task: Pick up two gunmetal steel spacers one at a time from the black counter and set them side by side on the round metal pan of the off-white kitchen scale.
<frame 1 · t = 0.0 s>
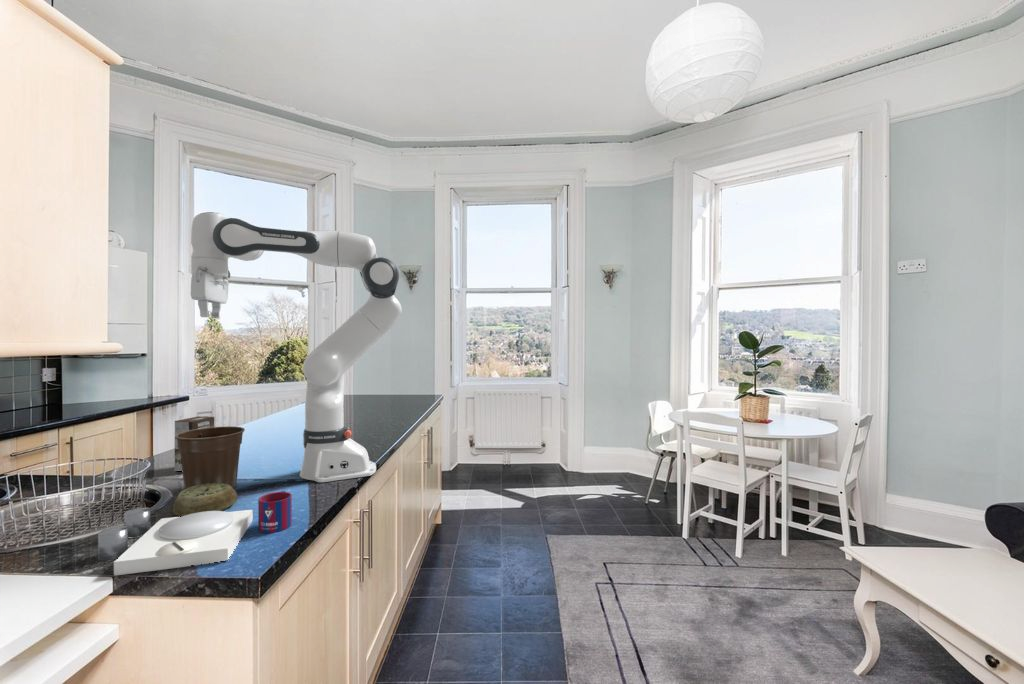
hand: (210, 317, 132), 48 cm above the countertop, tool pointing down, fingers open, 8 cm apart
spacer b: (113, 555, 90), on the countertop
mug: (278, 524, 105), on the countertop
spacer a: (137, 534, 99), on the countertop
olive green round disc: (205, 509, 114), on the countertop
plant pot: (211, 489, 128), on the countertop
coffee box: (195, 469, 146), on the countertop
scale: (192, 544, 95), on the countertop
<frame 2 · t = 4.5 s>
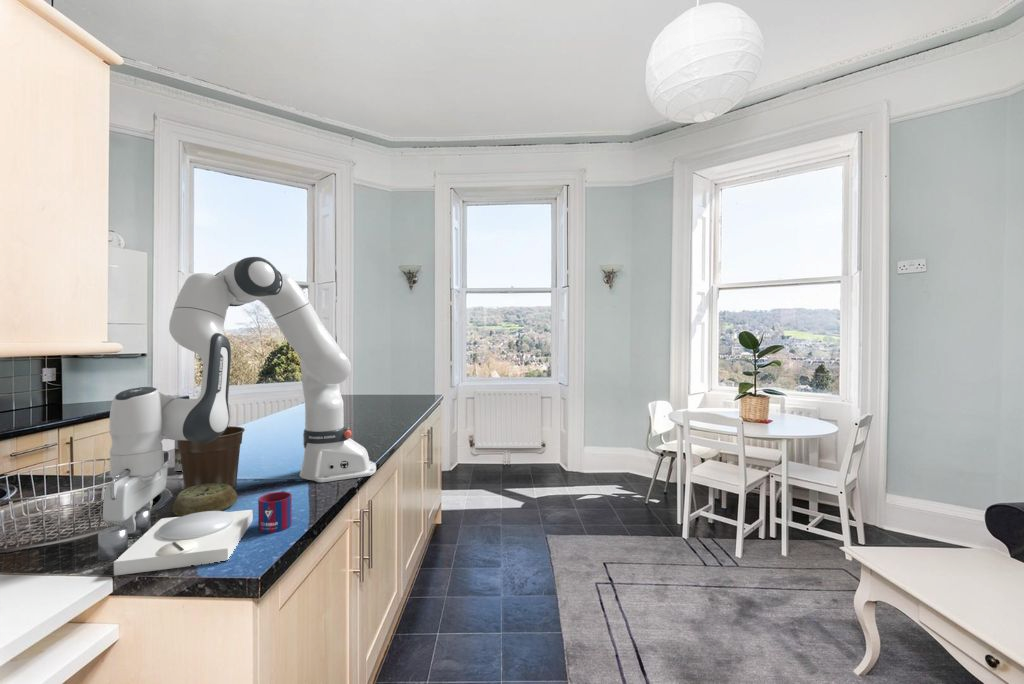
hand: (137, 526, 99), 2 cm above the countertop, tool pointing down, fingers closed on spacer a, 4 cm apart
spacer a: (137, 533, 99), on the countertop, touching gripper
everything else where it was.
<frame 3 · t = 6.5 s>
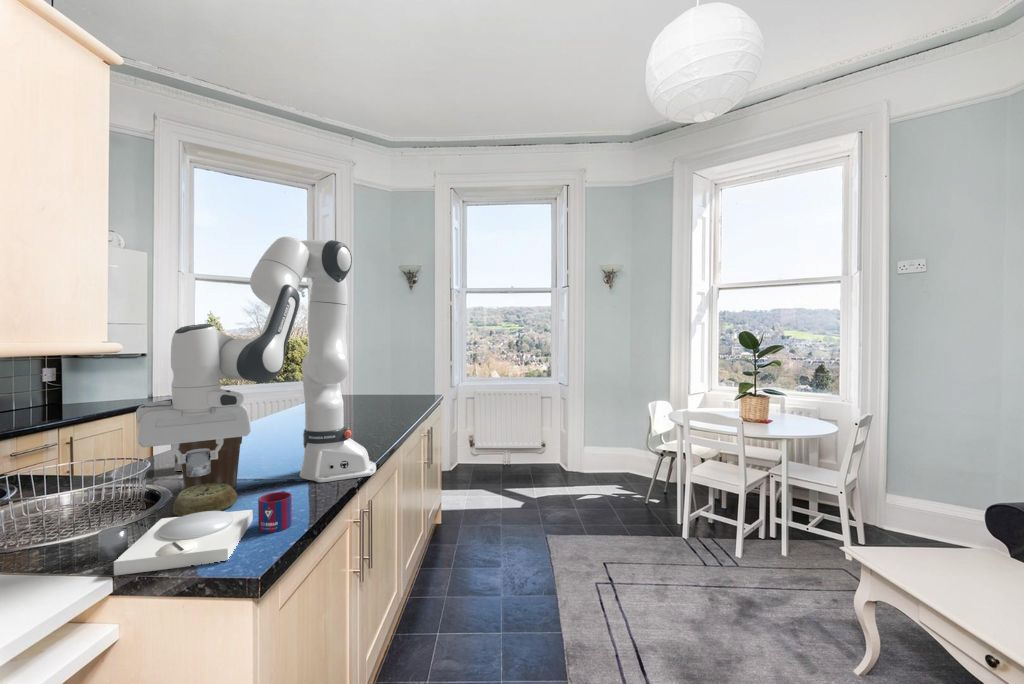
hand: (198, 461, 100), 16 cm above the countertop, tool pointing down, fingers closed on spacer a, 4 cm apart
spacer a: (198, 473, 100), point 13 cm above the countertop, touching gripper
everything else where it was.
when the fingers open (6 cm above the countertop, at t = 8.9 s): spacer a stays where it is, resting on scale.
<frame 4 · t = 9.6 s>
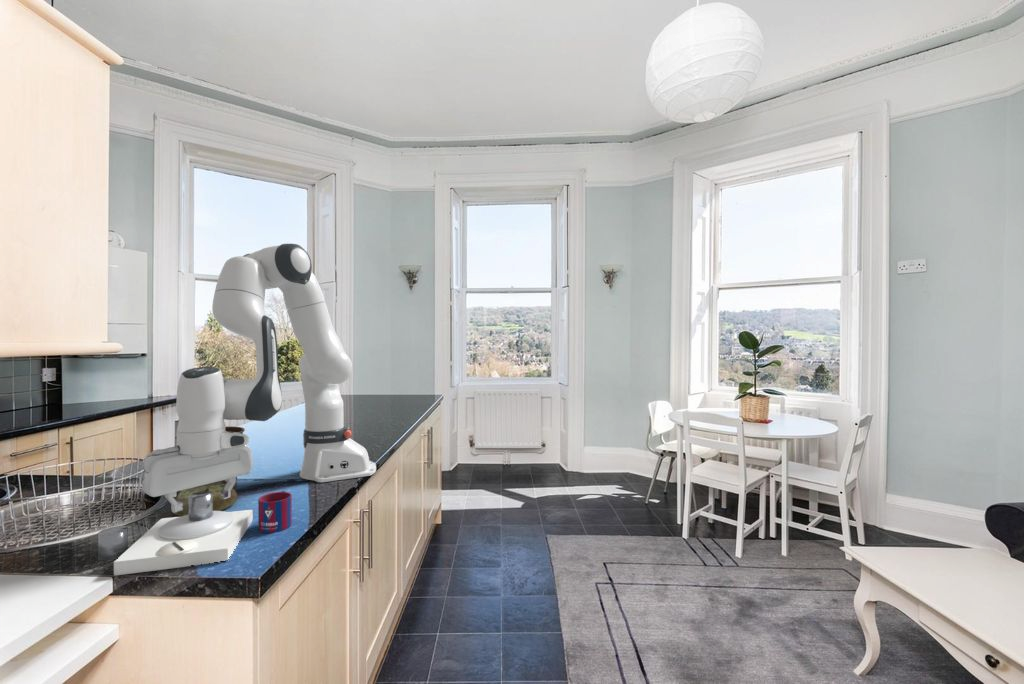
hand: (202, 504, 100), 6 cm above the countertop, tool pointing down, fingers open, 8 cm apart
spacer a: (200, 517, 100), point 3 cm above the countertop, touching scale
everything else where it was.
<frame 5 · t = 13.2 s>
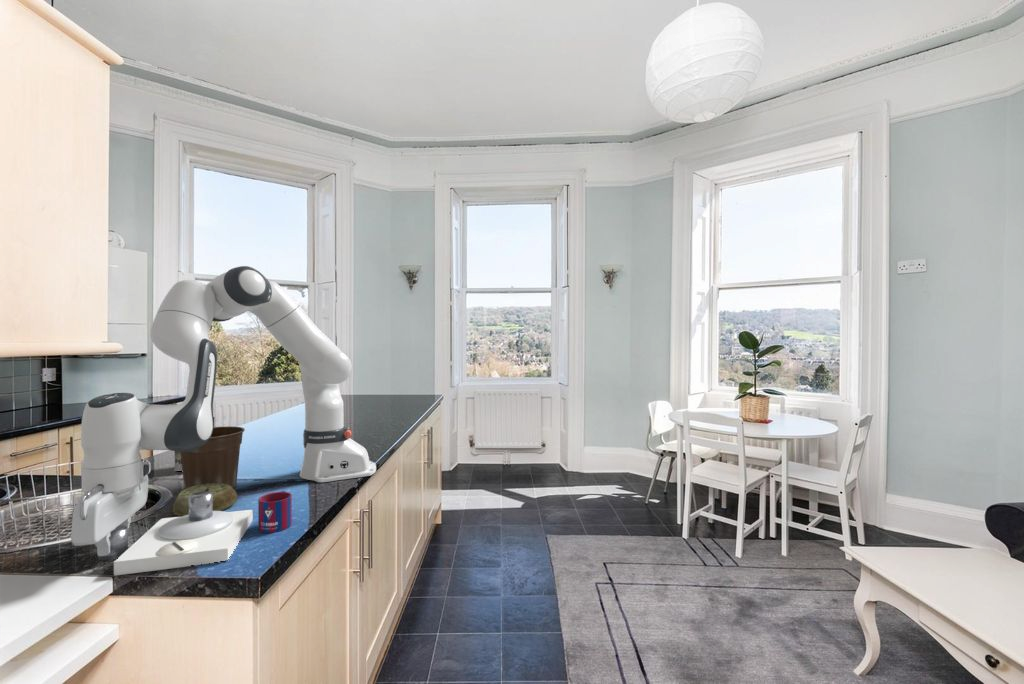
hand: (113, 547, 90), 2 cm above the countertop, tool pointing down, fingers closed on spacer b, 4 cm apart
spacer b: (113, 555, 90), on the countertop, touching gripper
everything else where it was.
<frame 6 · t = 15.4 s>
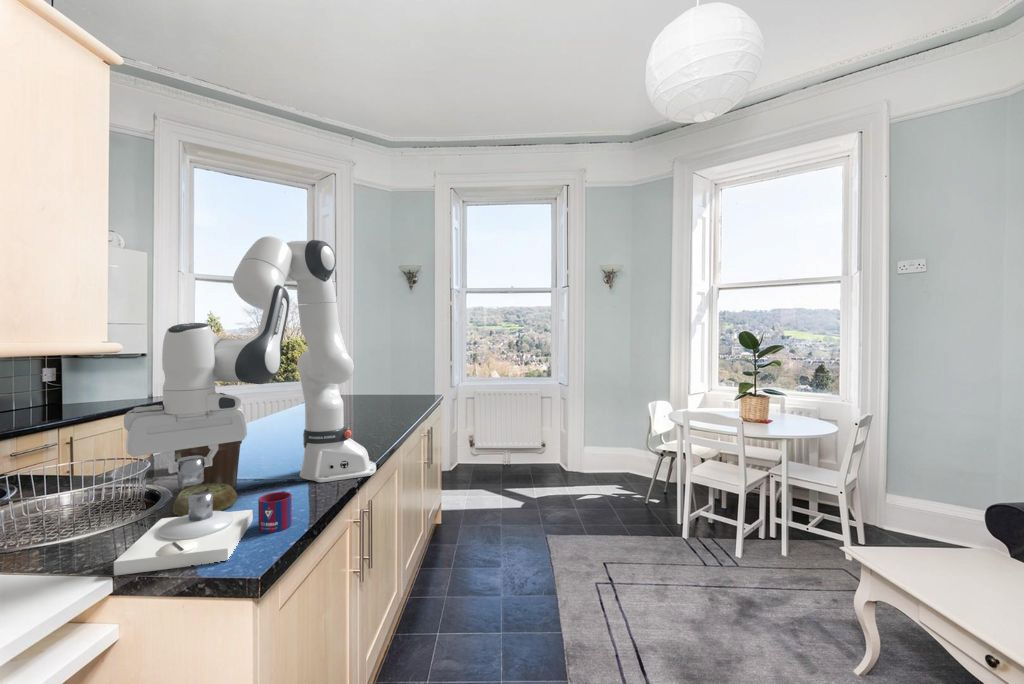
hand: (190, 469, 94), 16 cm above the countertop, tool pointing down, fingers closed on spacer b, 4 cm apart
spacer b: (191, 482, 94), point 13 cm above the countertop, touching gripper
everything else where it was.
when the fingers open (6 cm above the countertop, at t = 17.6 s): spacer b stays where it is, resting on scale.
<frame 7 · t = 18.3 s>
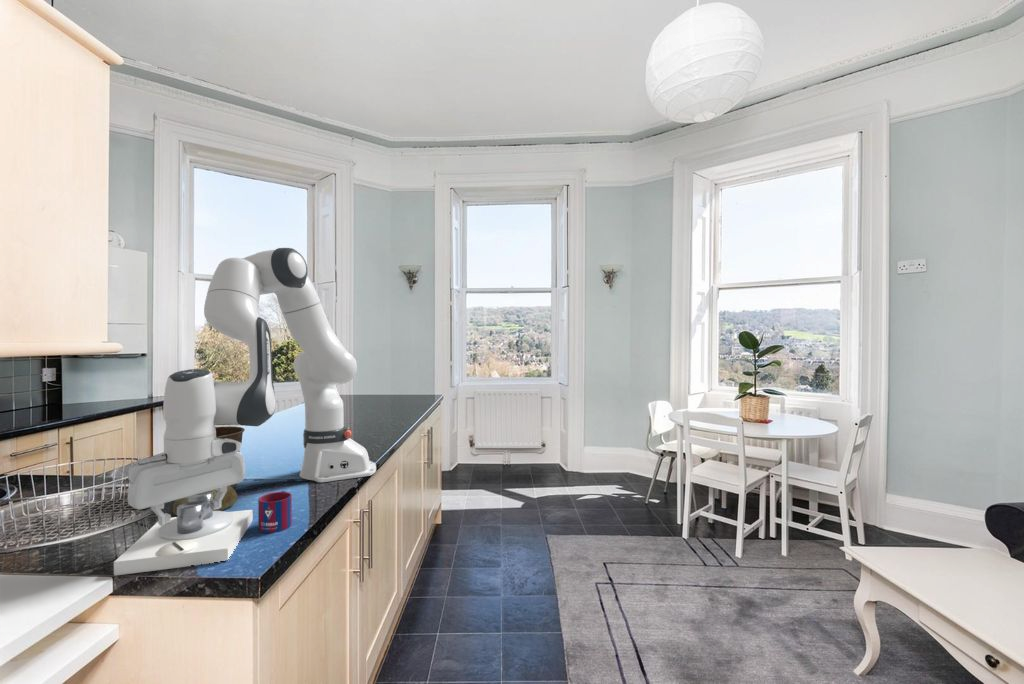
hand: (191, 515, 94), 6 cm above the countertop, tool pointing down, fingers open, 8 cm apart
spacer b: (190, 529, 94), point 3 cm above the countertop, touching scale
everything else where it was.
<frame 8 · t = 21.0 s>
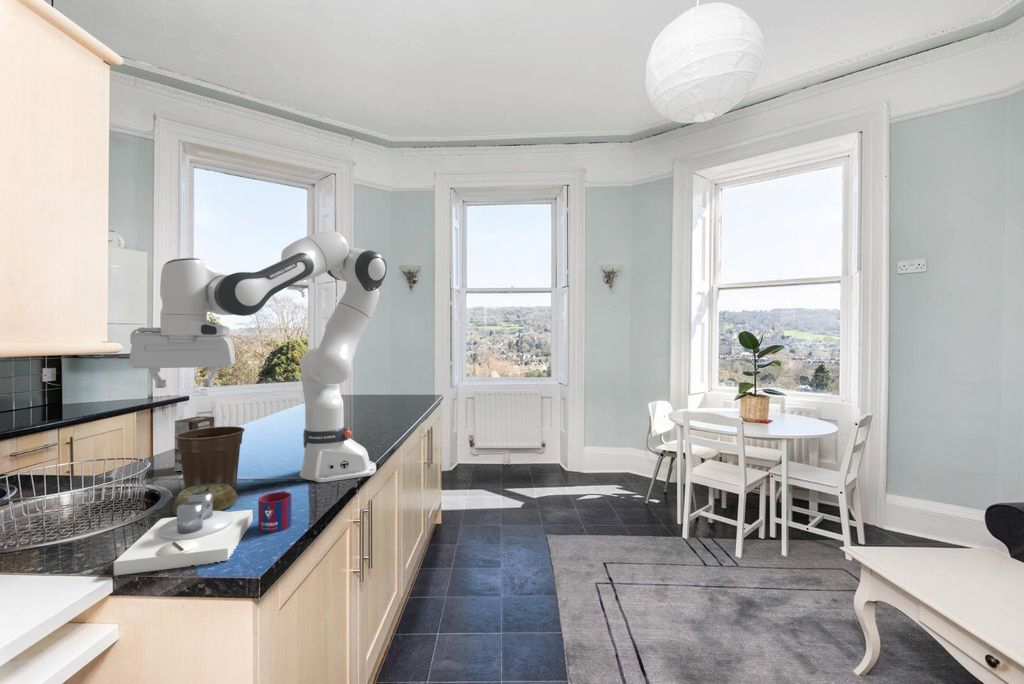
hand: (184, 387, 106), 31 cm above the countertop, tool pointing down, fingers open, 8 cm apart
nothing on the countertop moved.
at the end: spacer a inside the target area on the scale (3.2 cm from its centre), point 3.3 cm above the scale's base; spacer b inside the target area on the scale (3.4 cm from its centre), point 3.3 cm above the scale's base; spacer b tilted 0° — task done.
